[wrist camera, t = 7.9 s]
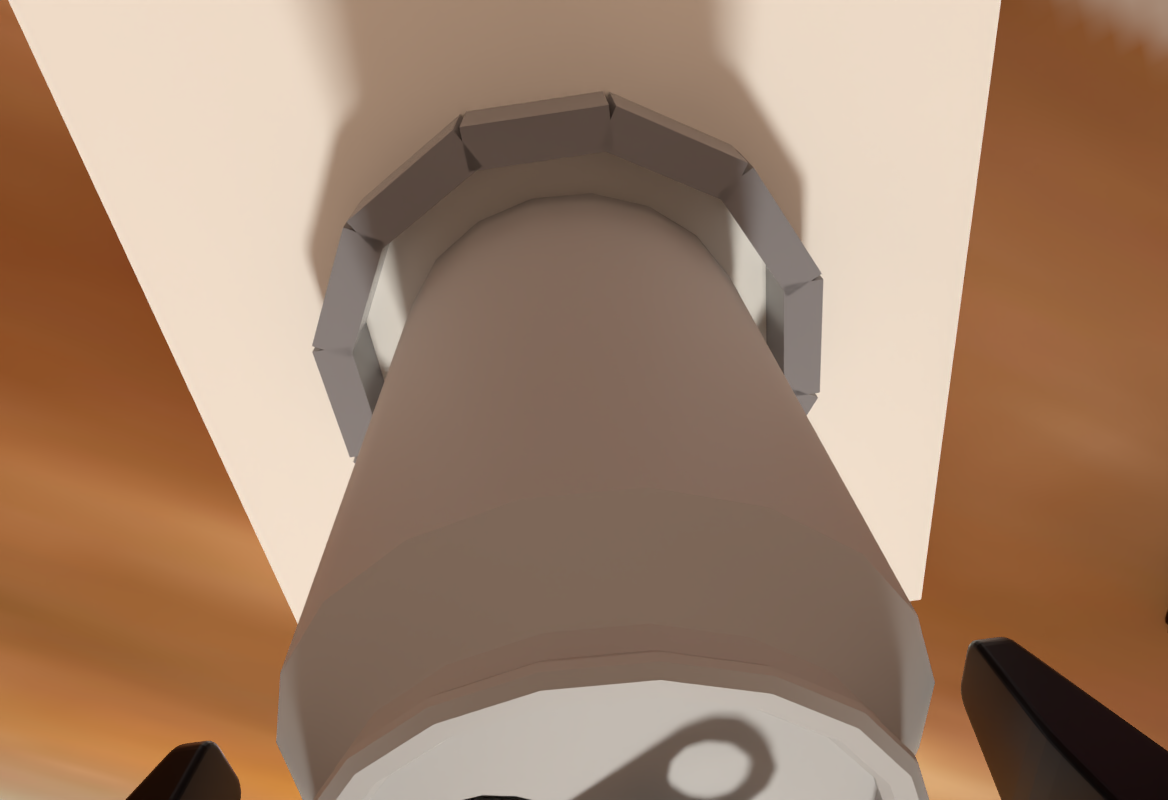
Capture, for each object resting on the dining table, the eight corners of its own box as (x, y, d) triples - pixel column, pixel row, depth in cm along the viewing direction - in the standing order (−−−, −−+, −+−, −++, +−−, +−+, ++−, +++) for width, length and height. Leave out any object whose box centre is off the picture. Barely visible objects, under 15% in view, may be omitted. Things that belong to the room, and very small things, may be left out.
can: (341, 297, 17) (25, 860, 7) (637, 107, 15) (841, 470, 5) (529, 517, 20) (516, 1111, 10) (788, 384, 19) (1094, 939, 8)
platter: (1007, -273, 13) (1098, -315, 11) (907, 575, 23) (943, 639, 21) (-9, -111, 14) (-111, -121, 11) (330, 651, 24) (309, 720, 22)
